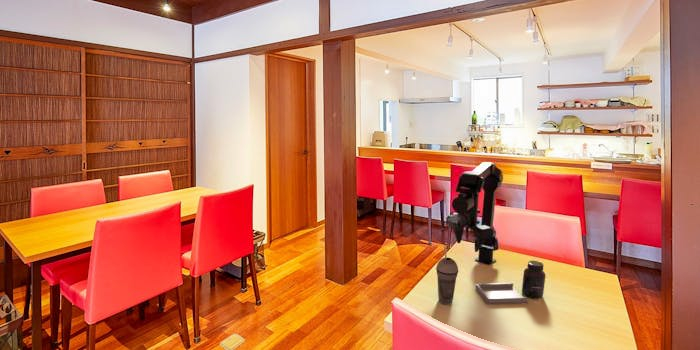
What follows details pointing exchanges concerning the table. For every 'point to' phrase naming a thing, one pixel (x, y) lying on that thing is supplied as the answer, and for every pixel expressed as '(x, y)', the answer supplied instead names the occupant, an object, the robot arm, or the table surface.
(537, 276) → the supplement bottle
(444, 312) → the table surface
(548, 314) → the table surface
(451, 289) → the beverage cup
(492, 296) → the tray
